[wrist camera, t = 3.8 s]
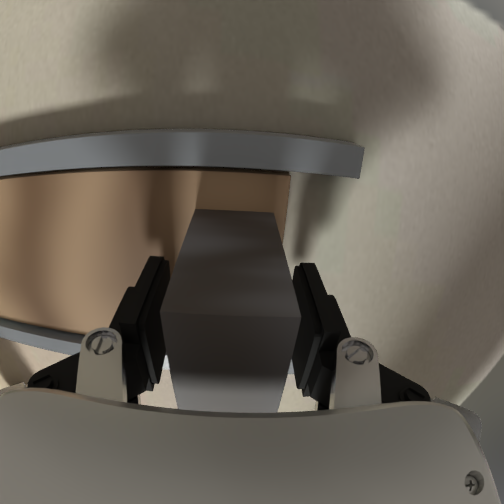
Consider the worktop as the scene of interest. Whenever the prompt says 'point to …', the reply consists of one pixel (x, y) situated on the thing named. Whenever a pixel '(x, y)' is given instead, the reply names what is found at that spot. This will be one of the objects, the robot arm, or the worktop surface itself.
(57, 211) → the strip
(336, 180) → the worktop surface
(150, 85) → the worktop surface
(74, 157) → the lane rails
